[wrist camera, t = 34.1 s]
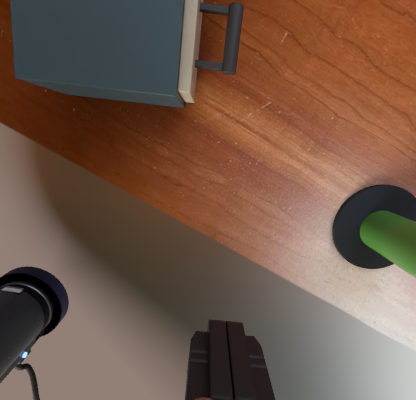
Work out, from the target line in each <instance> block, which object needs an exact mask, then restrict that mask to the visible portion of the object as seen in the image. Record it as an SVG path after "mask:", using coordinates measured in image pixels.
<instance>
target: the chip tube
mask: <svg viewBox="0 0 416 400" xmlns="http://www.w3.org/2000/svg"><path fill="white" fill-rule="evenodd" d="M360 237H361V239H362V241H363V242H364V243H365V244H366V245H367V246H369V247H370V248H372V249H373V250H375V251H376V252H378V253H379V254H381V255H382V256H384V257H385V258H387V259H388V260H390V261H391V262H393V263H394V264H396V265H397V266H399V267H400V268H402V269H403V270H405V271H406V272H408V273H409V274H411V275H412V276H414V277H415V278H416V222H415V221H412V220H410V219H407V218H405V217H402V216H400V215H397V214H394V213H392V212H389V211H376V212H373V213H372V214H370V215H368V216H367V217H366V218H365V219H364V221H363V222H362V224H361V227H360Z"/></svg>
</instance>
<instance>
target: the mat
mask: <svg viewBox="0 0 416 400" xmlns="http://www.w3.org/2000/svg"><path fill="white" fill-rule="evenodd" d="M376 211H389V212H392V213H394V214H397V215H400V216H402V217H405V218H407V219H410V220H412V221H415V222H416V198H415V197H414V196H413V195H412V194H411V193H409V192H408V191H406V190H404V189H402V188H399V187H396V186H391V185H375V186H370V187H367V188H364V189H362V190H360V191H358V192H357V193H355V194H353V195H352V196H351V197H350V198H348V199H347V200H346V201H345V202H344V204H343V205H342V206H341V208H340V209H339V211H338V213H337V215H336V217H335V220H334V224H333V240H334V244H335V246H336V248H337V250H338V252H339V253H340V254H341V255H342V256H343V257H344V258H345V259H346V260H347V261H348V262H350V263H352V264H354V265H356V266H358V267H362V268H367V269H377V268H383V267H387V266H390V265H392V264H394V263H393V262H391V261H390V260H388V259H387V258H385V257H384V256H382V255H381V254H379V253H378V252H376V251H375V250H373V249H372V248H370V247H369V246H367V245H366V244H365V243H364V242H363V241H362V239H361V237H360V227H361V224H362V222H363V221H364V219H365V218H366V217H367V216H368V215H370V214H372V213H373V212H376Z"/></svg>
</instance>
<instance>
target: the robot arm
mask: <svg viewBox="0 0 416 400" xmlns="http://www.w3.org/2000/svg"><path fill="white" fill-rule="evenodd" d="M52 316H53V305H52V302H51V300H50V298H49V296H48V295H47V294H46V293H45V292H44V291H43V290H42V289H41V288H40V287H38V286H36V285H34V284H32V283H29V282H25V281H12V282H9V283H6V284H4V285H3V286H1V287H0V383H1V382H2V381H3V380H4V378H5V377H6V376H7V375H8V374H9V372H10V371H11V370H12V369H13V368H15V369H17V370H24V369H25V370H26V371H27V372H28V374H29V377H30V381H31V386H32V393H33V399H34V400H40V398H39V391H38V384H37V379H36V375H35V372H34V370H33V368H32V366H31V365H30V364H28V363H25V364H21V362H22V361H23V360H24V359H25V358H26V357H27V355H28V354H29V353H30V352H31V350H30V348H31V347H32V346H33V345H34V344H35V342H36V341H37V340H38V339H39V338H40V337H41V335H42V334H43V333H44V332H45V330H44V329H45V327H46V326H47V325H48V324H49V323H50V321H51V319H52ZM185 400H275V397H274V393H273V389H272V386H271V382H270V378H269V374H268V370H267V368H266V363H265V359H264V355H263V352H262V348H261V345H260V344H259V343H258V341H257V340H256V339H255V337H254V336H245V333H244V327H243V323H241V322H231V321H226V322H225V321H220V320H209V322H208V329H207V332H200V331H196V333H195V334H194V336H193V337H192V339H191V344H190V353H189V362H188V370H187V382H186V394H185Z"/></svg>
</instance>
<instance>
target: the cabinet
mask: <svg viewBox="0 0 416 400" xmlns="http://www.w3.org/2000/svg"><path fill="white" fill-rule="evenodd" d="M184 1H185V0H10V5H11V21H12V37H13V53H14V69H15V78H17V79H20V80H23V81H26V82H30V83H33V84H36V85H39V86H42V87H45V88H48V89H51V90H54V91H58V92H61V93H64V94H67V95H75V96H83V97H92V98H101V99H110V100H118V101H127V102H136V103H145V104H153V105H162V106H171V107H180V108H185V101H184V100H183V98H182V97H181V95H180V94H179V92H178V80H179V67H180V54H181V41H182V28H183V14H184Z"/></svg>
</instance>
